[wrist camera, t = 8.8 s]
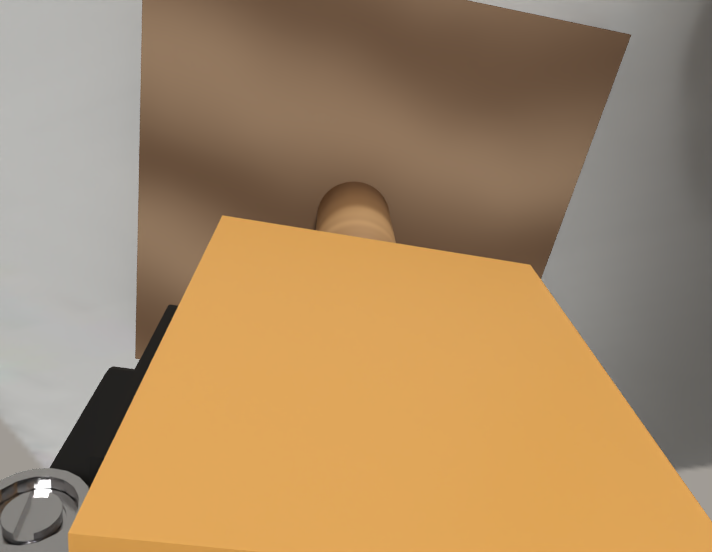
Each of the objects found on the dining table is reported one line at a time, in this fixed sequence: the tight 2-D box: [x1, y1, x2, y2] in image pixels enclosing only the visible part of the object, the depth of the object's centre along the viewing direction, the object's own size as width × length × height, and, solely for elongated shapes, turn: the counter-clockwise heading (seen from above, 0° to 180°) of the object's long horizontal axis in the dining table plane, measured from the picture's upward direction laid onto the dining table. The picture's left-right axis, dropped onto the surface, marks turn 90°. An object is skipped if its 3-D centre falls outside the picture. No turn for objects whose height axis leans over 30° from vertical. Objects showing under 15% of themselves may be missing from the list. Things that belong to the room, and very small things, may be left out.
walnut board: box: [135, 0, 631, 359], centre depth 18 cm, size 14×14×6 cm
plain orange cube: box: [68, 215, 712, 552], centre depth 9 cm, size 6×6×7 cm
